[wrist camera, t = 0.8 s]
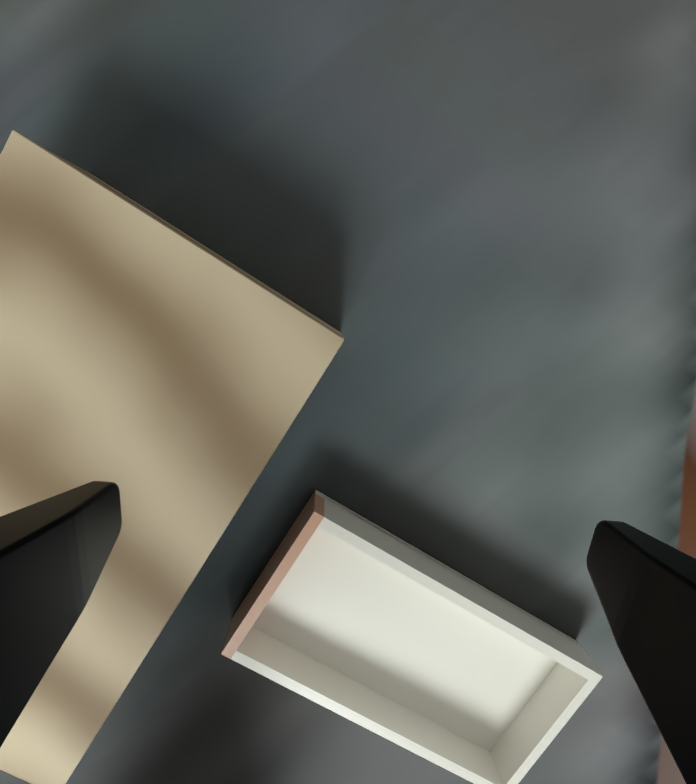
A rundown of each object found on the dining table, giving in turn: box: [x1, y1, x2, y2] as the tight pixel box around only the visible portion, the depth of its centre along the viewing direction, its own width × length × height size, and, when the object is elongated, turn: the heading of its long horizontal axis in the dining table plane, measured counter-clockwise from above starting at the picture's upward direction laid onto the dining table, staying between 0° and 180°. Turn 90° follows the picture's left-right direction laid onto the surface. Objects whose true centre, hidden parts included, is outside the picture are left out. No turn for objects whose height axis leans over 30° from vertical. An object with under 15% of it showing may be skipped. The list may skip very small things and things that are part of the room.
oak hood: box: [0, 130, 344, 784], centre depth 20 cm, size 22×12×5 cm, turn 148°
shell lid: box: [221, 490, 603, 784], centre depth 24 cm, size 8×16×2 cm, turn 58°
